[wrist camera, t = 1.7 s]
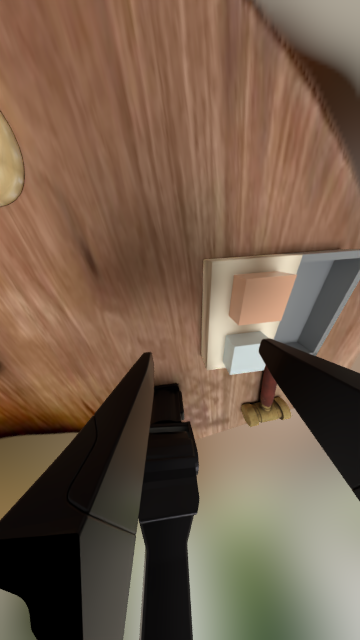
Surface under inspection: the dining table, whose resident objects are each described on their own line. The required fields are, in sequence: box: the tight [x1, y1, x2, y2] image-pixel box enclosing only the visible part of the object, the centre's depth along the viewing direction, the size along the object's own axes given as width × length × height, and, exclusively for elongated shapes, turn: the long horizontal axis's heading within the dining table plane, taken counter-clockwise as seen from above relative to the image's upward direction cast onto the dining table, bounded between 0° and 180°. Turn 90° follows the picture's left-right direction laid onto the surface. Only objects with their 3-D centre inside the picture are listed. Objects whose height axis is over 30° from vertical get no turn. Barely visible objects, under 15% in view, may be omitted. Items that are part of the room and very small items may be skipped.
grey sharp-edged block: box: [223, 331, 268, 375], centre depth 18 cm, size 5×5×2 cm
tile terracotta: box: [229, 271, 297, 326], centre depth 14 cm, size 5×5×2 cm
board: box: [201, 254, 303, 370], centre depth 19 cm, size 10×16×4 cm, turn 3°
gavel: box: [241, 365, 291, 427], centre depth 29 cm, size 21×5×10 cm
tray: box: [274, 249, 360, 356], centre depth 20 cm, size 9×16×4 cm, turn 3°
